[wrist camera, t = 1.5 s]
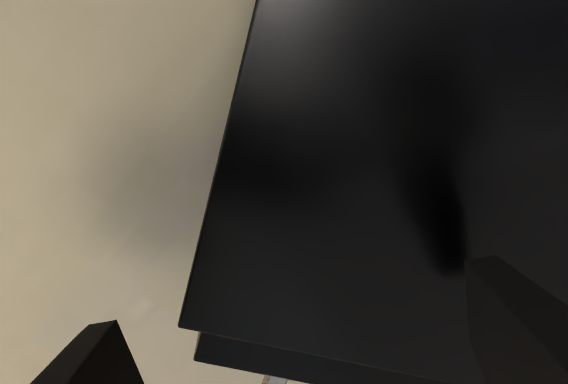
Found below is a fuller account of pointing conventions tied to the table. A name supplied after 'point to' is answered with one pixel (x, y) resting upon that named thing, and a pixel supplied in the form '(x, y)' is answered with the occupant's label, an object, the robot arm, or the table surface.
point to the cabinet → (385, 177)
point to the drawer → (293, 364)
